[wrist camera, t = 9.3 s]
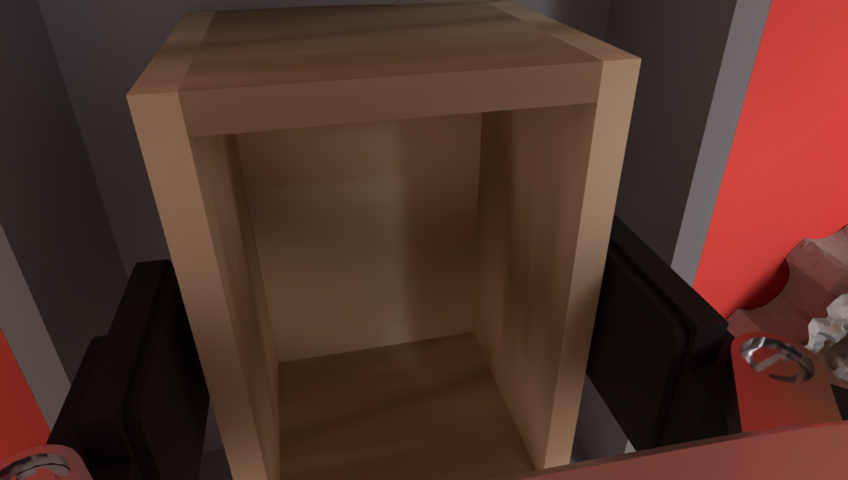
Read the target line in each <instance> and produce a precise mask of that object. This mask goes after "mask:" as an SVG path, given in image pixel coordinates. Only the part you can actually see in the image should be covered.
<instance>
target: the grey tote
mask: <svg viewBox="0 0 848 480" xmlns="http://www.w3.org/2000/svg"><path fill="white" fill-rule="evenodd" d="M413 1H434V0H0V328H1V330H2V332H3V334H4V336H5V338H6V340H7V343H8V345H9V347H10V349H11V351H12V353H13V355H14V357H15V359H16V361H17V363H18V365H19V367H20V369H21V371H22V373H23V375H24V377H25V380H26V382H27V384H28V386H29V388H30V390H31V392H32V394H33V396H34V398H35V400H36V402H37V404H38V406H39V408H40V410H41V412H42V414H43V417H44V419H45V421H46V423H47V425H48V427H49V429H50V431H51V432H52V429H53V427H54V425H55V422H56V420H57V418H58V415H59V413H60V411H61V408H62V406H63V404H64V401H65V399H66V397H67V394H68V392H69V390H70V387H71V385H72V383H73V380H74V378H75V376H76V373H77V371H78V369H79V366H80V364H81V362H82V359H83V357H84V355H85V352H86V350H87V348H88V345H89V344H90V342H91V340H92V339H93V338H95V337H96V336H103V335H107V334H108V331H109V329H110V326H111V324H112V321H113V319H114V316H115V314H116V311H117V309H118V306H119V304H120V301H121V299H122V296H123V294H124V291H125V289H126V286H127V284H128V281H129V279H130V276H131V273H132V271H133V268H134V266H135V264H136V263H138V262H146V261H155V260H164V259H169V260H170V261H171V263H172V265H173V262H172V259H171V255H170V251H169V248H168V244H167V241H166V237H165V234H164V230H163V226H162V223H161V219H160V216H159V212H158V208H157V205H156V201H155V198H154V194H153V191H152V187H151V183H150V180H149V176H148V173H147V169H146V166H145V162H144V158H143V155H142V151H141V148H140V144H139V140H138V137H137V133H136V130H135V126H134V123H133V119H132V115H131V112H130V108H129V105H128V101H127V97H126V95H127V93H128V92H129V91H130V89H131V88H132V87H133V85H134V84H135V82H136V81H137V80H138V78H139V77H140V75H141V74H142V73H143V71H144V70H145V69H146V67H147V66H148V64H149V63H150V62H151V60H152V59H153V57H154V56H155V55H156V53H157V52H158V51H159V49H160V48H161V46H162V45H163V44H164V42H165V41H166V39H167V38H168V37H169V35H170V34H171V33H172V31H173V30H174V28H175V27H176V26H177V24H178V23H179V21H180V20H181V19H182V17H183V16H184V15H185V13H186V12H206V11H226V10H247V9H268V8H289V7H310V6H330V5H351V4H372V3H393V2H413ZM511 1H513V2H515V3H517V4H520V5H522V6H524V7H526V8H529V9H531V10H533V11H535V12H538V13H540V14H542V15H544V16H547V17H549V18H551V19H553V20H556V21H558V22H560V23H563V24H565V25H567V26H569V27H572V28H574V29H576V30H578V31H581V32H583V33H585V34H587V35H590V36H592V37H594V38H596V39H599V40H601V41H603V42H605V43H608V44H610V45H612V46H614V47H617V48H619V49H621V50H623V51H626V52H628V53H630V54H632V55H635V56H637V57H639V58H641V64H640V70H639V76H638V81H637V87H636V92H635V98H634V104H633V109H632V115H631V120H630V126H629V132H628V137H627V143H626V148H625V154H624V160H623V165H622V171H621V176H620V182H619V188H618V193H617V199H616V204H615V210H614V214H615V215H616V216H617V217H618V218H619V219H620V220H621V221H622V222H623V223H624V224H626V225H627V226H628V227H629V228H630V229H631V230H632V231H633V232H634V233H635V234H636V235H637V236H638V237H639V238H640V239H641V240H642V241H643V242H644V243H646V244H647V245H648V246H649V247H650V248H651V249H652V250H653V251H654V252H655V253H656V254H657V255H658V256H659V257H660V258H661V259H662V260H663V261H664V262H665V263H667V264H668V265H669V266H670V267H671V268H672V269H673V270H674V271H675V272H676V273H677V274H678V275H679V276H680V277H681V278H682V279H683V280H684V281H685V282H687V283H688V284H689V285H690V286H691V287H692V286H693V283H694V279H695V275H696V272H697V268H698V265H699V261H700V257H701V254H702V250H703V247H704V243H705V239H706V236H707V232H708V229H709V225H710V221H711V218H712V214H713V211H714V207H715V203H716V200H717V196H718V193H719V189H720V185H721V182H722V178H723V175H724V171H725V167H726V164H727V160H728V157H729V153H730V149H731V146H732V142H733V139H734V135H735V131H736V128H737V124H738V120H739V117H740V113H741V110H742V106H743V102H744V99H745V95H746V92H747V88H748V84H749V81H750V77H751V74H752V70H753V66H754V63H755V59H756V56H757V52H758V48H759V45H760V41H761V38H762V34H763V30H764V27H765V23H766V20H767V16H768V12H769V9H770V5H771V2H772V0H511ZM631 452H636V450H635V449H634V448H633V446H632V445H631V443H630V441H629V440H628V438H627V437H626V435H625V434H624V432H623V430H622V429H621V427H620V426H619V424H618V423H617V421H616V420H615V418H614V416H613V415H612V413H611V412H610V410H609V409H608V407H607V405H606V404H605V402H604V401H603V399H602V398H601V396H600V395H599V393H598V391H597V390H596V388H595V387H594V385H593V384H592V382H591V380H590V379H589V377H588V376H587V374H586V373H585V378H584V384H583V389H582V395H581V401H580V406H579V412H578V417H577V423H576V429H575V434H574V440H573V445H572V451H571V457H570V462H569V464H572V463H577V462H582V461H588V460H593V459H598V458H604V457H609V456H614V455H620V454H625V453H631ZM199 480H233V477H232V474H231V470H230V466H229V463H228V459H227V456H226V452H225V449H224V445H223V441H222V438H221V434H220V431H219V427H218V423H217V420H216V416H215V413H214V409H213V406H212V402H211V398H210V402H209V409H208V416H207V423H206V430H205V437H204V445H203V452H202V459H201V466H200V473H199Z"/></svg>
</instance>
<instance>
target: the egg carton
mask: <svg viewBox="0 0 848 480" xmlns="http://www.w3.org/2000/svg"><path fill="white" fill-rule="evenodd" d="M786 262H787V263H788V265H789V272H790V274H789V279H788V282H787V284H786V286H785V287H784V289H783V290H782V291H781V292H780V294H779V295H777V296H776V297H775V298H774V299H773V300H772V301H771V302H769V303H768V304H766V305H764V306H762V307H759V308H756V309H751V310H744V309H737V310H736V311H735V312H734V313H733V314H732V315H731V316H730V317H729V318H728V319H727V320H726V321H728V322H729V325H728V328H727V330H728V331H729V332H730V333H731V334H732V335H733V336H734V337H735V338H736V337H737V336H739V335H742V334H744V333H750V332H764V333H772V334H775V335H779V336H783V337H786V338H788V339H790V340H793V341H795V342H797V343H799V344H801V345H802V346H804V347H806V348H807V349H809V350H810V351H811V352H812V353H813V354H814V355H816V356H817V357H818V358H819V359H820V361H821V363H822V364H823V366H824V368H825V370H826V373H827V376H828V379H829V382H830V383H831V384H834V385H837V386H840V387H843V388H846V389H848V225H846V226H845V227H843V228H842V229H841V230H839V231H837V232H836V233H834V234H832V235H830V236H828V237H826V238H822V239H809V238H804V239H802V240H801V241H800V242H799V243H798V244H797V245H796V246H795V247H794V249H793V250H792V251H791V252H790V253H789V254H788V255H787V256H786Z"/></svg>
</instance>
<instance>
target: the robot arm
mask: <svg viewBox="0 0 848 480" xmlns="http://www.w3.org/2000/svg"><path fill="white" fill-rule="evenodd" d="M728 325H729V322H728V321H726V320H725V319H724V318H723V317H722V316H721V315H720V314H719V313H718V312H717V311H716V310H715V309H714V308H713V307H712V306H711V305H710V304H709V303H708V302H706V301H705V300H704V299H703V298H702V297H701V296H700V295H699V294H698V293H697V292H696V291H695V290H694V289H693V288H692V287H691V286H690V285H689V284H688V283H687V282H685V281H684V280H683V279H682V278H681V277H680V276H679V275H678V274H677V273H676V272H675V271H674V270H673V269H672V268H671V267H670V266H669V265H668V264H667V263H665V262H664V261H663V260H662V259H661V258H660V257H659V256H658V255H657V254H656V253H655V252H654V251H653V250H652V249H651V248H650V247H649V246H648V245H647V244H646V243H644V242H643V241H642V240H641V239H640V238H639V237H638V236H637V235H636V234H635V233H634V232H633V231H632V230H631V229H630V228H629V227H628V226H627V225H626V224H624V223H623V222H622V221H621V220H620V219H619V218H618V217H617V216H616V215H615V214H614V216H613V221H612V227H611V232H610V238H609V244H608V249H607V255H606V260H605V266H604V272H603V277H602V283H601V288H600V294H599V300H598V305H597V311H596V316H595V322H594V328H593V333H592V339H591V345H590V350H589V356H588V361H587V367H586V374H587V376H588V377H589V379H590V380H591V382H592V384H593V385H594V387H595V388H596V390H597V391H598V393H599V395H600V396H601V398H602V399H603V401H604V402H605V404H606V405H607V407H608V409H609V410H610V412H611V413H612V415H613V416H614V418H615V420H616V421H617V423H618V424H619V426H620V427H621V429H622V430H623V432H624V434H625V435H626V437H627V438H628V440H629V441H630V443H631V445H632V446H633V448H634V449H635V450H636V452H631V453H625V454H620V455H614V456H609V457H604V458H598V459H593V460H588V461H582V462H577V463H572V464H566V465H561V466H556V467H551V468H545V469H540V470H535V471H530V472H525V473H519V474H514V475H509V476H504V477H499V478H493V479H488V480H848V389H846V388H843V387H840V386H837V385H834V384H831V383H830V382H829V379H828V376H827V373H826V370H825V368H824V366H823V364H822V363H821V361H820V359H819V358H818V357H817V356H816V355H814V354H813V353H812V352H811V351H810V350H809V349H807V348H806V347H804V346H802V345H801V344H799V343H797V342H795V341H793V340H790V339H788V338H786V337H783V336H779V335H775V334H772V333H764V332H750V333H744V334H742V335H739V336H737V337H736V338H735V337H734V336H733V335H732V334H731V333H730V332H729V331H728V330H727V328H728ZM209 402H210V395H209V391H208V388H207V384H206V380H205V377H204V373H203V370H202V366H201V363H200V359H199V355H198V352H197V348H196V345H195V341H194V337H193V334H192V330H191V327H190V323H189V320H188V316H187V312H186V309H185V305H184V302H183V298H182V294H181V291H180V287H179V284H178V280H177V277H176V273H175V269H174V266H173V265H172V263H171V261H170V260H169V259H164V260H155V261H146V262H138V263H136V264H135V266H134V268H133V271H132V273H131V276H130V279H129V281H128V284H127V286H126V289H125V291H124V294H123V296H122V299H121V301H120V304H119V306H118V309H117V311H116V314H115V316H114V319H113V321H112V324H111V326H110V329H109V331H108V334H107V335H103V336H96V337H95V338H93V339H92V340H91V342H90V344H89V345H88V348H87V350H86V352H85V355H84V357H83V359H82V362H81V364H80V366H79V369H78V371H77V373H76V376H75V378H74V380H73V383H72V385H71V387H70V390H69V392H68V394H67V397H66V399H65V401H64V404H63V406H62V408H61V411H60V413H59V415H58V418H57V420H56V422H55V425H54V427H53V429H52V432H51V434H50V436H49V439H48V441H47V443H46V445H42V446H37V447H33V448H28V449H26V450H23V451H21V452H19V453H16V454H14V455H11V456H9V457H8V458H6V459H4V460H3V461H1V462H0V480H199V473H200V466H201V459H202V452H203V445H204V437H205V430H206V423H207V416H208V409H209Z"/></svg>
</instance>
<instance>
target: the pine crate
mask: <svg viewBox="0 0 848 480" xmlns="http://www.w3.org/2000/svg"><path fill="white" fill-rule="evenodd" d="M640 64H641V58H639V57H637V56H635V55H632V54H630V53H628V52H626V51H623V50H621V49H619V48H617V47H614V46H612V45H610V44H608V43H605V42H603V41H601V40H599V39H596V38H594V37H592V36H590V35H587V34H585V33H583V32H581V31H578V30H576V29H574V28H572V27H569V26H567V25H565V24H563V23H560V22H558V21H556V20H553V19H551V18H549V17H547V16H544V15H542V14H540V13H538V12H535V11H533V10H531V9H529V8H526V7H524V6H522V5H520V4H517V3H515V2H513V1H511V0H434V1H413V2H393V3H372V4H351V5H330V6H310V7H289V8H268V9H247V10H226V11H206V12H186V13H185V15H184V16H183V17H182V19H181V20H180V21H179V23H178V24H177V26H176V27H175V28H174V30H173V31H172V33H171V34H170V35H169V37H168V38H167V39H166V41H165V42H164V44H163V45H162V46H161V48H160V49H159V51H158V52H157V53H156V55H155V56H154V57H153V59H152V60H151V62H150V63H149V64H148V66H147V67H146V69H145V70H144V71H143V73H142V74H141V75H140V77H139V78H138V80H137V81H136V82H135V84H134V85H133V87H132V88H131V89H130V91H129V92H128V93H127V95H126V97H127V101H128V105H129V108H130V112H131V115H132V119H133V123H134V126H135V130H136V133H137V137H138V140H139V144H140V148H141V151H142V155H143V158H144V162H145V166H146V169H147V173H148V176H149V180H150V183H151V187H152V191H153V194H154V198H155V201H156V205H157V208H158V212H159V216H160V219H161V223H162V226H163V230H164V234H165V237H166V241H167V244H168V248H169V251H170V255H171V259H172V262H173V266H174V269H175V273H176V277H177V280H178V284H179V287H180V291H181V294H182V298H183V302H184V305H185V309H186V312H187V316H188V320H189V323H190V327H191V330H192V334H193V337H194V341H195V345H196V348H197V352H198V355H199V359H200V363H201V366H202V370H203V373H204V377H205V380H206V384H207V388H208V391H209V395H210V398H211V402H212V406H213V409H214V413H215V416H216V420H217V423H218V427H219V431H220V434H221V438H222V441H223V445H224V449H225V452H226V456H227V459H228V463H229V466H230V470H231V474H232V477H233V480H488V479H493V478H499V477H504V476H509V475H514V474H519V473H525V472H530V471H535V470H540V469H545V468H551V467H556V466H561V465H566V464H569V462H570V457H571V451H572V445H573V440H574V434H575V429H576V423H577V417H578V412H579V406H580V401H581V395H582V389H583V384H584V378H585V373H586V367H587V361H588V356H589V350H590V345H591V339H592V333H593V328H594V322H595V316H596V311H597V305H598V300H599V294H600V288H601V283H602V277H603V272H604V266H605V260H606V255H607V249H608V244H609V238H610V232H611V227H612V221H613V216H614V210H615V204H616V199H617V193H618V188H619V182H620V176H621V171H622V165H623V160H624V154H625V148H626V143H627V137H628V132H629V126H630V120H631V115H632V109H633V104H634V98H635V92H636V87H637V81H638V76H639V70H640Z"/></svg>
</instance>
